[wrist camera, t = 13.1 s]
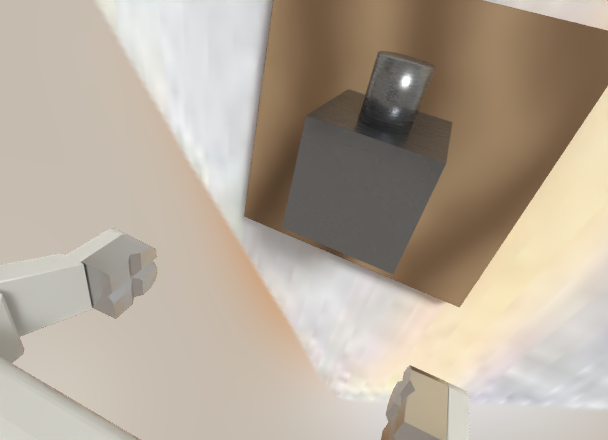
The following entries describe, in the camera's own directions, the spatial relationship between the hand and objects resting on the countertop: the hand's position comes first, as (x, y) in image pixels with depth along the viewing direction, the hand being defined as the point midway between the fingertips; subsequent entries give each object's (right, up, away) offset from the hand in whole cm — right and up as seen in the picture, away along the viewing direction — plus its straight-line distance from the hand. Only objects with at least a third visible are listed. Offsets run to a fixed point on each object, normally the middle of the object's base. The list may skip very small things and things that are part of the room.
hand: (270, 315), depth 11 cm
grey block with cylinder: (+6, +8, +12) cm, 15 cm away
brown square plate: (+7, +8, +14) cm, 17 cm away
